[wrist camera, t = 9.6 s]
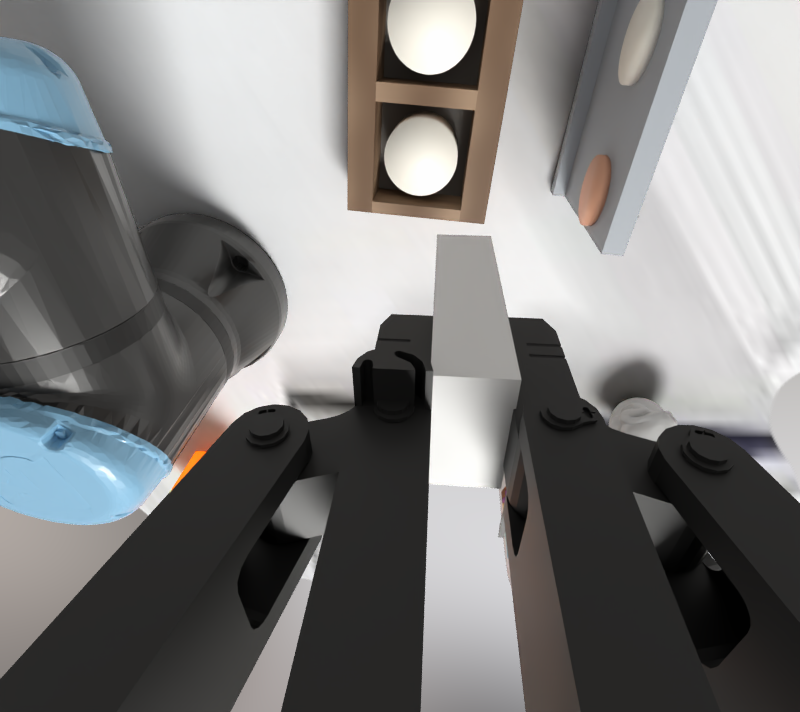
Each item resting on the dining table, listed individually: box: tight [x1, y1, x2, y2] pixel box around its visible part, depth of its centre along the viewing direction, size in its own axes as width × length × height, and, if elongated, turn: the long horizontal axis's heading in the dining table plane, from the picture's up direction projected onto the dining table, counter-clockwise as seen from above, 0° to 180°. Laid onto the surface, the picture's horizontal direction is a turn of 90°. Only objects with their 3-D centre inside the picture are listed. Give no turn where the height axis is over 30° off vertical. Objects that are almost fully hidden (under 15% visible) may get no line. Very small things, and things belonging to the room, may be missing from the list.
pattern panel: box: [551, 0, 718, 256], centre depth 25 cm, size 3×20×12 cm, turn 176°
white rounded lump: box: [608, 397, 677, 441], centre depth 44 cm, size 6×7×7 cm
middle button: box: [387, 0, 476, 75], centre depth 27 cm, size 5×5×3 cm
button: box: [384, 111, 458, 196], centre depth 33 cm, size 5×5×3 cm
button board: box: [348, 0, 523, 224], centre depth 29 cm, size 10×23×4 cm, turn 176°
